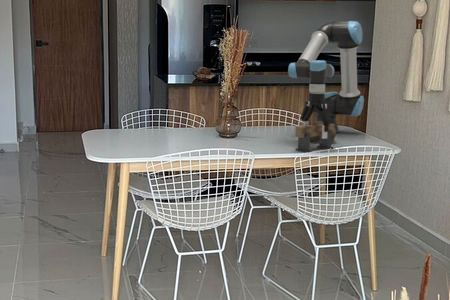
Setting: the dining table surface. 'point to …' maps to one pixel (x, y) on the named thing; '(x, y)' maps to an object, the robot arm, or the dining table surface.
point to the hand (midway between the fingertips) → (315, 136)
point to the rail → (312, 130)
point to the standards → (305, 142)
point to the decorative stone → (317, 138)
